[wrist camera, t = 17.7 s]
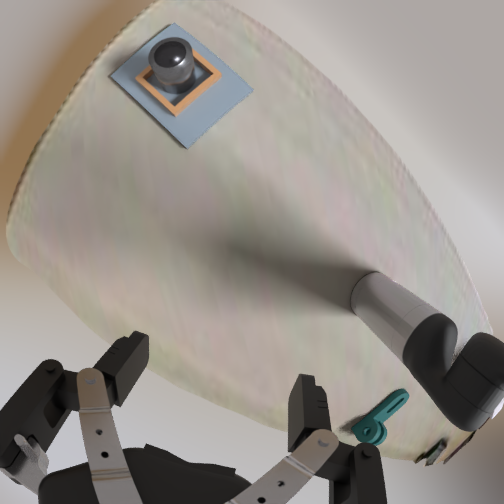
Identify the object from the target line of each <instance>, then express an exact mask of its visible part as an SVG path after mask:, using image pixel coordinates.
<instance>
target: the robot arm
mask: <svg viewBox="0 0 504 504" xmlns="http://www.w3.org/2000/svg"><path fill="white" fill-rule="evenodd" d="M351 308H352V310H353V311H354V312H355V314H356V315H357V316H358V317H359V318H360V319H361V320H362V321H363V322H364V323H365V324H366V325H367V326H368V327H369V328H370V329H371V330H372V331H373V332H374V333H375V334H376V335H377V337H378V338H379V339H380V340H381V341H382V342H383V343H384V344H385V345H386V346H387V347H388V348H389V349H390V350H391V351H392V352H393V353H394V354H395V355H396V356H397V357H398V359H399V360H400V361H401V362H402V363H403V364H404V365H405V366H406V367H407V368H408V369H409V370H410V372H411V374H412V375H413V376H414V378H415V379H416V380H417V381H418V382H419V383H420V385H421V386H422V387H423V388H424V390H425V391H426V392H427V393H428V395H429V396H430V397H431V399H432V400H433V401H434V403H435V404H436V405H437V407H438V408H439V409H440V410H441V412H442V413H443V414H444V415H445V416H446V418H447V419H448V420H449V421H450V422H451V423H452V424H454V425H455V426H456V427H458V428H459V429H461V430H464V431H469V432H471V431H475V430H477V429H478V428H479V427H480V426H481V425H482V424H483V423H484V422H485V421H486V420H487V418H488V417H489V416H490V415H491V413H492V412H493V411H494V410H495V409H496V407H497V406H498V405H499V403H500V402H501V401H502V399H503V398H504V343H503V342H502V341H500V340H499V339H497V338H495V337H494V336H492V335H490V334H487V333H482V332H479V333H476V334H475V335H473V336H472V337H471V338H470V340H469V341H468V342H467V344H466V345H465V347H464V348H463V350H462V351H461V353H460V354H459V356H458V357H457V359H456V360H455V362H454V363H453V365H452V366H451V361H452V356H453V353H454V349H455V346H456V342H457V335H458V332H457V327H456V325H455V323H454V322H453V321H452V320H451V319H450V318H448V317H447V316H445V315H444V314H442V313H441V312H440V311H438V310H437V309H435V308H434V307H432V306H431V305H429V304H428V303H426V302H425V301H423V300H422V299H420V298H419V297H418V296H416V295H415V294H413V293H412V292H410V291H409V290H407V289H406V288H404V287H403V286H401V285H399V284H398V283H396V282H395V281H394V280H392V279H390V278H389V277H387V276H386V275H384V274H382V273H378V272H375V273H370V274H368V275H366V276H364V277H363V278H362V279H361V280H360V281H359V282H358V283H357V284H356V286H355V288H354V289H353V292H352V295H351ZM148 359H149V336H148V335H147V334H144V333H141V332H138V331H134V332H133V333H132V334H131V335H130V337H129V338H128V337H125V336H124V337H122V338H120V339H118V340H116V341H115V342H114V343H113V345H112V346H111V347H110V348H109V349H108V351H107V352H106V353H105V354H104V355H103V356H102V357H101V358H100V360H99V361H98V362H97V363H96V364H95V366H94V367H93V368H85V369H82V370H81V371H80V372H79V373H78V372H72V371H67V370H64V369H63V366H62V364H61V363H60V362H59V361H56V360H53V359H48V360H45V361H43V362H42V363H41V364H40V365H39V366H38V367H37V368H36V369H35V370H34V371H33V373H32V374H31V375H30V376H29V377H28V378H27V379H26V380H25V382H24V383H23V384H22V385H21V386H20V387H19V389H18V390H17V391H16V392H15V393H14V395H13V396H12V397H11V398H10V399H9V401H8V402H7V403H6V404H5V405H4V407H3V408H2V409H1V411H0V470H1V471H2V472H3V473H4V474H5V475H6V476H8V477H9V478H10V479H11V480H13V481H14V482H15V483H17V484H20V485H24V486H25V487H26V488H28V489H29V490H31V491H32V492H34V493H35V494H37V495H38V500H39V504H286V503H287V502H288V501H289V500H290V499H291V498H292V497H293V496H294V495H295V494H296V493H297V492H298V491H299V490H300V489H301V488H302V487H303V486H304V485H305V484H306V483H307V482H308V481H309V480H310V479H311V478H312V476H313V475H315V476H318V477H321V478H325V479H328V480H329V504H387V498H386V490H385V482H384V476H383V469H382V463H381V457H380V452H379V450H378V448H377V447H376V446H375V445H373V444H371V443H367V442H363V443H360V444H358V445H357V446H356V447H355V446H351V445H348V444H345V443H342V442H340V441H339V440H338V437H337V436H336V435H335V434H334V433H333V432H332V430H331V423H330V416H329V409H328V403H327V395H326V393H325V391H324V389H323V388H322V386H316V385H315V377H314V376H312V375H305V374H299V376H298V378H297V380H296V382H295V384H294V387H293V389H292V391H291V393H290V397H289V402H288V452H292V453H291V455H289V456H286V457H285V458H284V459H282V460H281V461H280V462H279V463H278V464H277V465H276V466H275V467H273V468H272V469H271V470H270V471H268V472H267V473H266V474H265V475H263V476H262V477H261V478H260V479H259V480H257V481H256V482H255V483H253V484H251V483H250V482H249V481H247V480H246V479H244V478H243V477H241V476H239V475H236V474H235V470H236V469H235V468H229V467H225V466H220V465H216V464H204V463H189V462H186V461H184V460H183V459H181V458H179V457H177V456H175V455H173V454H171V453H170V452H168V451H166V450H163V449H160V448H157V447H154V446H152V445H149V444H146V445H145V447H144V448H126V449H122V448H121V445H120V441H119V438H118V435H117V431H116V428H115V424H114V420H113V416H112V413H111V408H112V406H113V405H114V404H115V405H117V406H119V407H121V406H122V404H123V402H124V400H125V399H126V398H127V396H128V394H129V393H130V391H131V390H132V388H133V386H134V385H135V383H136V381H137V380H138V378H139V377H140V375H141V374H142V372H143V371H144V369H145V367H146V366H147V363H148ZM72 410H73V411H78V412H79V417H80V423H81V429H82V435H83V440H84V445H85V449H86V454H87V458H88V462H86V463H82V464H79V465H76V466H73V467H70V468H66V469H63V470H59V471H56V472H52V473H50V474H48V475H47V468H48V464H49V460H48V457H47V455H46V454H45V453H46V451H47V450H48V448H49V446H50V444H51V443H52V441H53V440H54V438H55V436H56V435H57V433H58V432H59V430H60V428H61V427H62V425H63V424H64V422H65V420H66V419H67V417H68V416H69V414H70V412H71V411H72Z"/></svg>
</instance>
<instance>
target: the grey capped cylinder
mask: <svg viewBox="0 0 504 504" xmlns="http://www.w3.org/2000/svg"><path fill="white" fill-rule="evenodd" d="M148 61H149V64H150V66H151V68H152V70H153V72H154V73H155V75H156V77H157V79H158V81H159V82H160V84H161V86H162V88H163V89H164V90H165V91H166V92H168V93H170V94H182V93H185V92H187V91H188V90H190V89H191V88H192V86H193V85H194V83H195V81H196V73H195V66H194V59H193V52H192V47H191V45H190V43H189V42H188V41H186V40H185V39H182V38H179V37H170V38H166V39H163V40H161V41H159V42H158V43H156V44H155V45H154V46H153V47H152V49H151V50H150V52H149V56H148Z"/></svg>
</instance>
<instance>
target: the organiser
mask: <svg viewBox="0 0 504 504" xmlns="http://www.w3.org/2000/svg"><path fill="white" fill-rule="evenodd" d="M170 37H179V38H182V39H185V40H186V41H188V42H189V43H190V45H191V47H192V52H193V59H194V66H195V73H196V81H195V83H194V85H193V86H192V88H191V89H190V90H188V91H187V92H185V93H182V94H170V93H168V92H166V91H165V90H164V89H163V88H162V86H161V84H160V82H159V81H158V79H157V77H156V75H155V73H154V72H153V70H152V68H151V66H150V64H149V61H148V56H149V52H150V50H151V49H152V47H153V46H154V45H155V44H156V43H158V42H159V41H161V40H163V39H166V38H170ZM111 77H112V78H113V79H114V80H115V81H116V82H117V83H118V84H120V85H121V86H122V87H123V88H124V89H125V90H126V91H127V92H128V93H129V94H130V95H131V96H133V97H134V98H135V99H136V100H137V101H138V102H139V103H140V104H141V105H142V106H143V107H144V108H145V109H146V110H147V111H148V112H150V113H151V114H152V115H153V116H154V117H155V118H156V119H157V120H158V121H159V122H160V123H161V124H162V125H163V126H164V127H165V128H166V129H167V130H168V131H169V132H170V133H171V134H172V135H173V136H175V137H176V138H177V139H178V140H179V141H180V142H181V143H182V144H183V145H184V146H185V147H186V148H187V149H188V148H189V147H190V146H191V145H193V144H194V143H195V142H196V141H197V140H198V139H199V138H200V137H201V136H202V135H203V134H204V133H205V132H206V131H207V130H209V129H210V128H211V127H212V126H213V125H214V124H215V123H216V122H217V121H219V120H220V119H221V118H222V117H223V116H224V115H225V114H227V113H228V112H229V111H230V110H231V109H232V108H234V107H235V106H236V105H237V104H238V103H240V102H241V101H242V100H243V99H244V98H246V97H247V96H248V95H249V94H251V93H252V92H253V90H254V89H252V88H251V87H250V86H249V85H248V84H247V83H246V82H245V81H244V80H243V79H242V78H241V77H240V76H239V75H238V74H236V73H235V72H234V71H233V70H232V69H231V68H230V67H229V66H228V65H226V64H225V63H224V62H223V61H222V60H221V59H220V58H218V57H217V56H216V55H215V54H214V53H213V52H211V51H210V50H209V49H208V48H207V47H205V46H204V45H203V44H202V43H200V42H199V41H198V40H197V39H195V38H194V37H193V36H192V35H190V34H189V33H188V32H186V31H185V30H184V29H182V28H181V27H180V26H178V25H177V24H176V23H173V24H172V25H170V26H169V27H167V28H166V29H165V30H163V31H162V32H161V33H159V34H158V35H157V36H156V37H154V38H153V39H152V40H150V41H149V42H148V43H147V44H146V45H144V46H143V47H142V48H141V49H140V50H138V51H137V52H136V53H135V54H134V55H133V56H132V57H130V58H129V59H128V60H127V61H126V62H125V63H124V64H123V65H122V66H121V67H119V68H118V69H117V70H116V71H115V72H114V73H113V74H112V75H111Z"/></svg>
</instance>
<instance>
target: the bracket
mask: <svg viewBox="0 0 504 504" xmlns="http://www.w3.org/2000/svg"><path fill="white" fill-rule="evenodd" d="M408 398H409V394H408V392H407V391H406V390H405V389H399V390H397V391H395V392H394V393H392V394H391V395H390V396H389V397H388V398H387V399H386V400H385V401H384V402H382V403H381V404H380V405H379V406H378V407H377V408H375V409H374V410H373V411H372V412H371V413H369V414H368V415H367V416H366V417H365V418H363V419H362V420H361V421H360V422H358V423H357V424H356V425H354V426H353V427H352V428H351V429H352V431H353V432H354V434H355V436H356V438H357V440H358V441H360V442H367V443H371V444H373V445H375V446H377V445H379V444H381V443H382V442H383V441H384V440H385V439H386V436H387V429H386V427H385V426H384V424H383V422H384V421H386V420H387V419H388V418H389V417H390V416H391V415H393V414H394V413H395V412H396V411H397V410H398V409H399V408H401V407H402V406H403V405H404V404H405V403H406V402H407V400H408Z"/></svg>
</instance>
